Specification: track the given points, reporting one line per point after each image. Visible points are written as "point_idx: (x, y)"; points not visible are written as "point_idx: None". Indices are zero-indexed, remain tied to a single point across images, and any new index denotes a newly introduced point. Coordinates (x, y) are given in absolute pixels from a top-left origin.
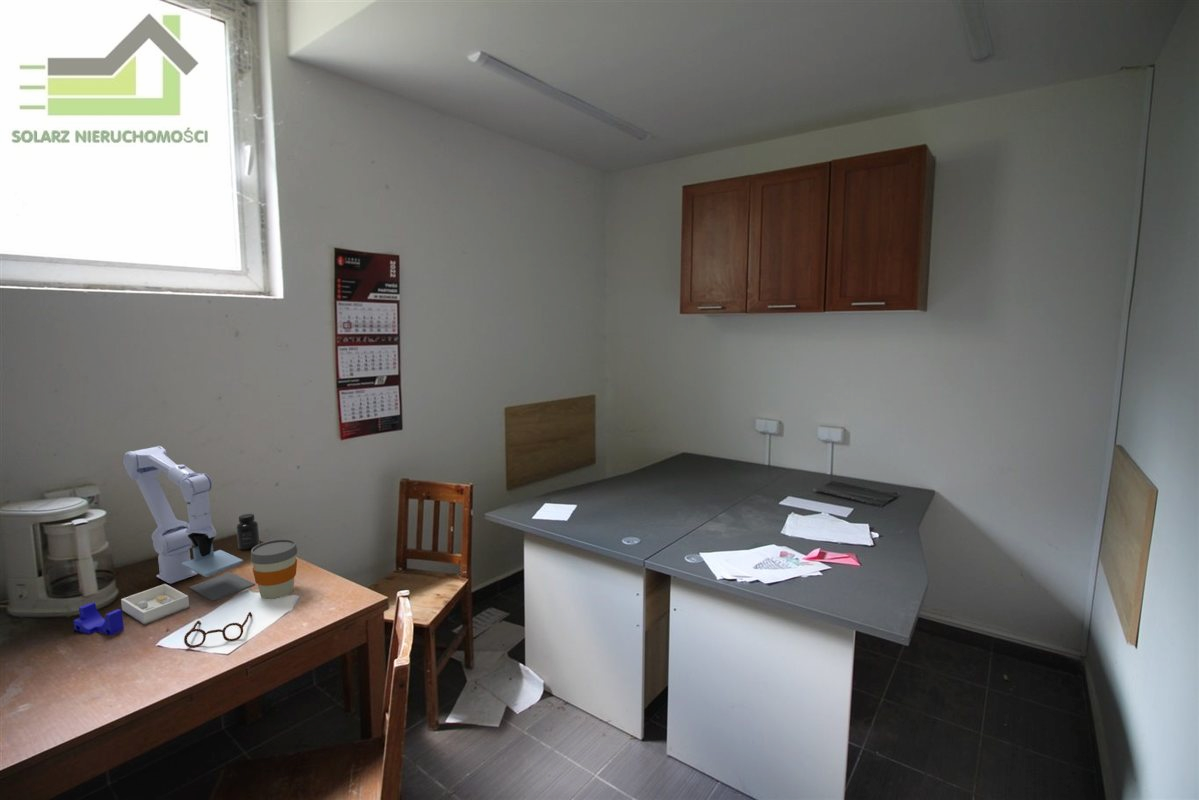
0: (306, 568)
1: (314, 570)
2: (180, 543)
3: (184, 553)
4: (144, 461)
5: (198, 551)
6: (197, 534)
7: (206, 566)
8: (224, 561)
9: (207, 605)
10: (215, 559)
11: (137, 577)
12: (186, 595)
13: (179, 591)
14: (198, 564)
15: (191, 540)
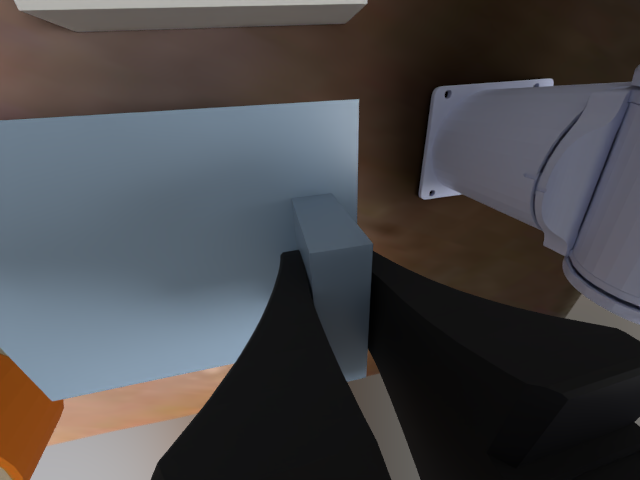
0: (183, 410)
1: (150, 421)
2: (630, 207)
3: (525, 194)
4: None
5: (305, 259)
6: (490, 473)
7: (84, 218)
8: (113, 327)
9: (37, 109)
10: (210, 295)
11: (622, 20)
12: (38, 5)
13: (157, 4)
14: (194, 186)
15: (493, 304)
